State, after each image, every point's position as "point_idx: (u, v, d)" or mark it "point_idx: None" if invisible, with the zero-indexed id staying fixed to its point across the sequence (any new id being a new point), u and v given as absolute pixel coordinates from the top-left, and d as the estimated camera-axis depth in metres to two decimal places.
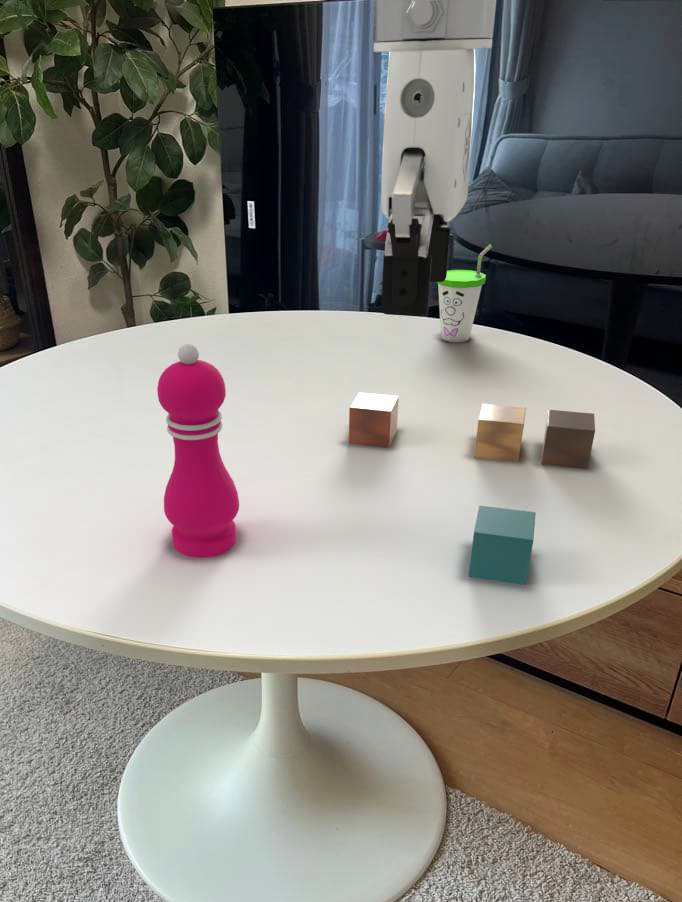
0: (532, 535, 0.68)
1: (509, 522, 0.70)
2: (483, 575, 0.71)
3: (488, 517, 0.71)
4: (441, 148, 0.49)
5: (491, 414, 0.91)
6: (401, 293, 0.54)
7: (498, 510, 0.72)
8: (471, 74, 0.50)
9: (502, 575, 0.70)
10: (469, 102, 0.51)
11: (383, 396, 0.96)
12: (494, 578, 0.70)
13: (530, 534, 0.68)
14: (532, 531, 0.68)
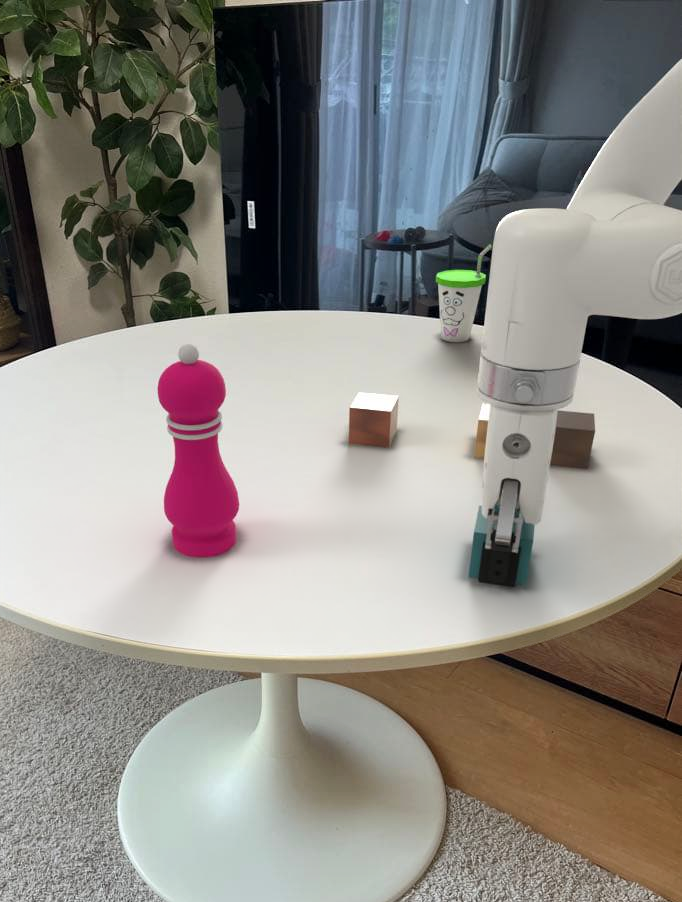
0: (532, 535, 0.68)
1: None
2: None
3: (488, 517, 0.71)
4: (534, 481, 0.62)
5: None
6: (496, 573, 0.69)
7: (498, 511, 0.72)
8: (556, 417, 0.63)
9: None
10: None
11: (383, 396, 0.96)
12: None
13: (530, 534, 0.68)
14: (532, 531, 0.68)
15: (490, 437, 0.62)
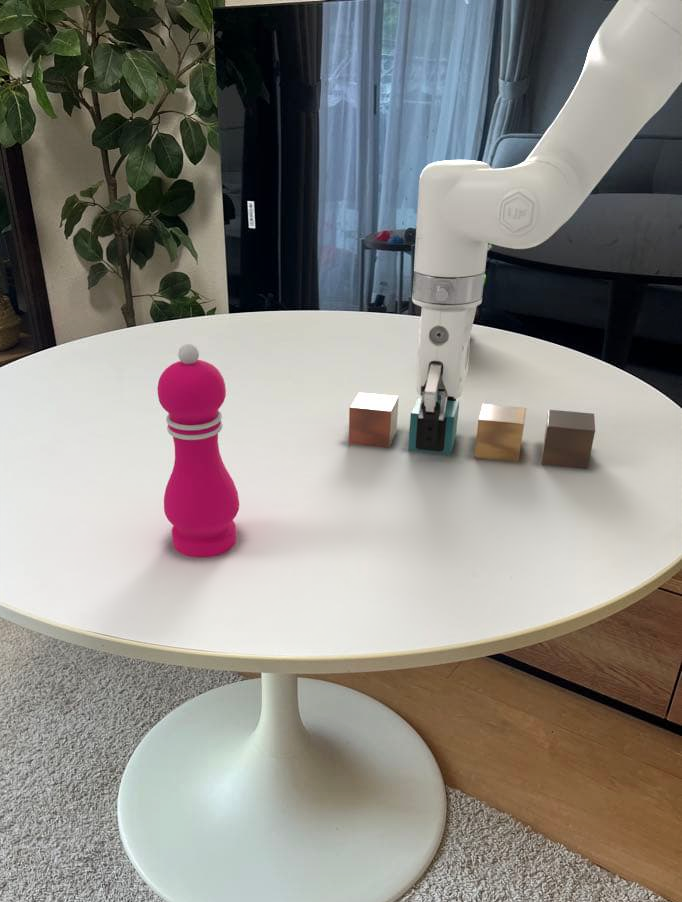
0: (454, 414, 0.91)
1: None
2: None
3: None
4: (452, 362, 0.84)
5: (491, 414, 0.91)
6: (428, 439, 0.89)
7: None
8: (470, 316, 0.85)
9: None
10: (468, 331, 0.86)
11: (383, 396, 0.96)
12: (427, 450, 0.93)
13: (452, 414, 0.91)
14: (454, 412, 0.91)
15: (420, 330, 0.85)
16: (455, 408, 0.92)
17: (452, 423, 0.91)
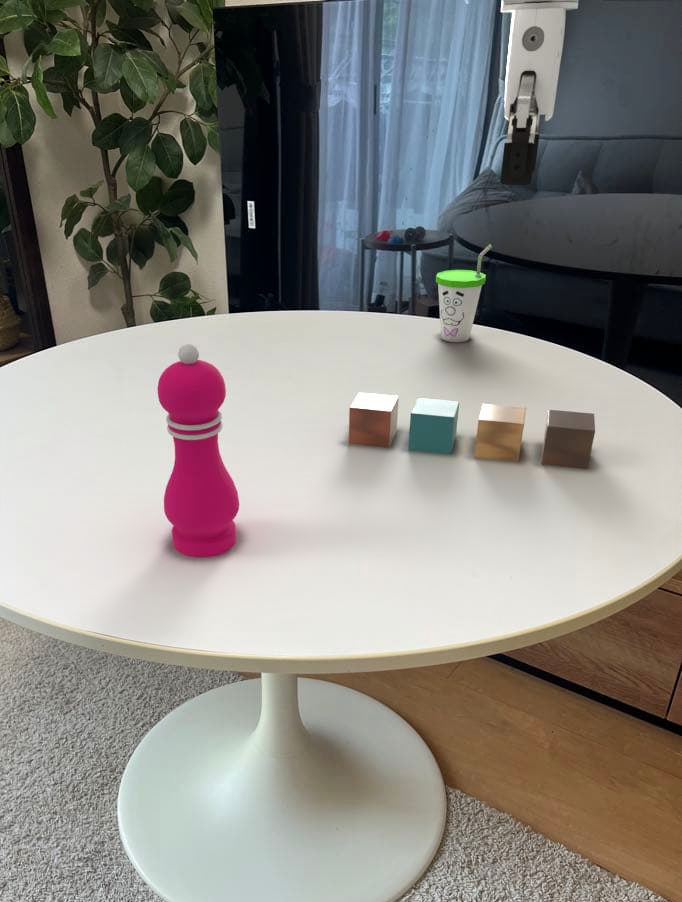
0: (454, 414, 0.91)
1: (438, 407, 0.93)
2: (419, 448, 0.93)
3: (423, 404, 0.94)
4: (547, 70, 0.79)
5: (491, 414, 0.91)
6: (515, 168, 0.83)
7: (431, 400, 0.94)
8: (564, 25, 0.80)
9: (433, 447, 0.93)
10: (562, 43, 0.80)
11: (383, 396, 0.96)
12: (427, 450, 0.93)
13: (452, 414, 0.91)
14: (454, 412, 0.91)
15: (512, 37, 0.79)
16: (455, 408, 0.92)
17: (452, 423, 0.91)
